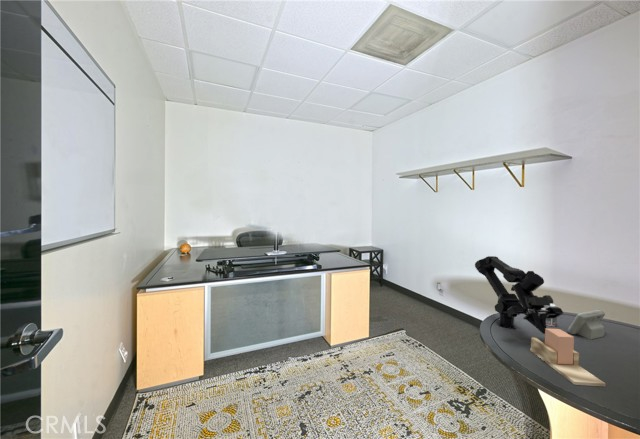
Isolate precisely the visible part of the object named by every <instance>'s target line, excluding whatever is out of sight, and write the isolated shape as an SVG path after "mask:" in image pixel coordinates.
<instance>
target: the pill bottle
mask: <svg viewBox="0 0 640 439" xmlns="http://www.w3.org/2000/svg"><path fill="white" fill-rule="evenodd" d="M548 307H557V306H556V304H554V303H553V304H550V306H548V305H545V306H544V308H541V309H542V310H545V309H547V308H548ZM557 318H558V317H557ZM557 318H554V319H551V318H546V326H550V327H556V326H557Z"/></svg>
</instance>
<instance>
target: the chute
mask: <svg viewBox="0 0 640 439" xmlns="http://www.w3.org/2000/svg"><path fill="white" fill-rule="evenodd" d="M529 351H530V352H532V354H534V355H535V356H536V355H537V356H536V357H538V358H539V359H540V358H541V359H540V360H542V361H543V362H544V361H545V362H544V363H546V364H547V365H548V366H550V367H551V368H552V369H554V371H556V372H557V373H559V374H560V376H562V377H563V378H565V379H567V380H568V382H570V383H572V385H575V386H576V385H577V386H589V387H590V386H591V387H592V386H593V387H606V383H605V382H604V381H603V380H601V379H599V377H596V375H594V374H592V373H591V372H589V371H588V370H586V369H585V368H583V367H582V366H581V365H579V364H580V363H579V360H580V353H579V352H578V351H576V350H573V364H557V352H556V351H555V350H553V349H552V348H550V347H549V346H547V345H546V344H545V342H543V341H541V340H540V339H539V338H537V337H531V339H530V349H529Z"/></svg>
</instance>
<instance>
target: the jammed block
mask: <svg viewBox="0 0 640 439" xmlns="http://www.w3.org/2000/svg"><path fill="white" fill-rule="evenodd" d="M544 344H546V345H547V346H549V347H550V348H552V349H553V350H555V351H556V352H557V364H573V350H574V348H575V346H574V345H575V336H573V335H572V334H570V333H567V332H566V331H564V330H563V329H560V328H547V327H546V328H545V334H544ZM574 351H575V350H574Z"/></svg>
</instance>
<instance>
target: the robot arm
mask: <svg viewBox="0 0 640 439" xmlns="http://www.w3.org/2000/svg"><path fill="white" fill-rule="evenodd" d="M474 267H475V269H476V270H477V272H478V273H479V274H481V275H483V276H485V278H486V280H487V281H488V283H489V284H490V286H491V288H492V290H493V291H494V293H495V295H496V296H497V303H496V304H495V305H494V310H495V312H497V313H498V314H499V319H497V323H498V326H499V327H502V328H503V327H504V328H509V329H513V330H516V329H517V326H516V325H515V318H517V316H519V315H524V317H523V320H526V321H527V322H529V323H530V324H531V325H532V326H533V327H535V328H536V329H537V330H538V331H540V332H541V333H542V334H543V335H545V328H547V325H546V318H551V319H554V318H558V317H561V316H562V315H564V314H565V313H564V311H563V310H562V308H561V307H558V306H556V307H548V308H547V309H545V310H542V309H541V308H544V306H545V305H548V306H550V304H554V299H553V298H552V296H551V295H549V294H547V295H546V294H545V295H543V296H542V297H541V296H538V295H534V293H533V292H535V291H536V290H537V289H539V288H540V287H542V286H543V284H544V283H545V279H544V277H542V276H541V275H539V274H538V273H535V272H534V271H533V270H527V272H525V271H524V270H522V269H520V268H517V267H512V266H510V265H509V264H507V263H505V262H504V261H503V260H501V259H500V258H499V257H498V256H496V255H495V256H489V255H488V256H486V257H483V258H481V259H479V260H477V261H476V262H475V264H474ZM495 269H496V270H497V271H498V272H500V273H501V274H502V277H503V279H504V280H505V281H507V282H508V283H511V284H512V285H511V286H512V287H511V288H510V291H512V292H515V293H510V292H509V291H508V290H507V288H506V286H504V284H503V283H502V281H501V280H500V278H499V276H498V275H497V274H496V272H495ZM513 283H515V284H513Z"/></svg>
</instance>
